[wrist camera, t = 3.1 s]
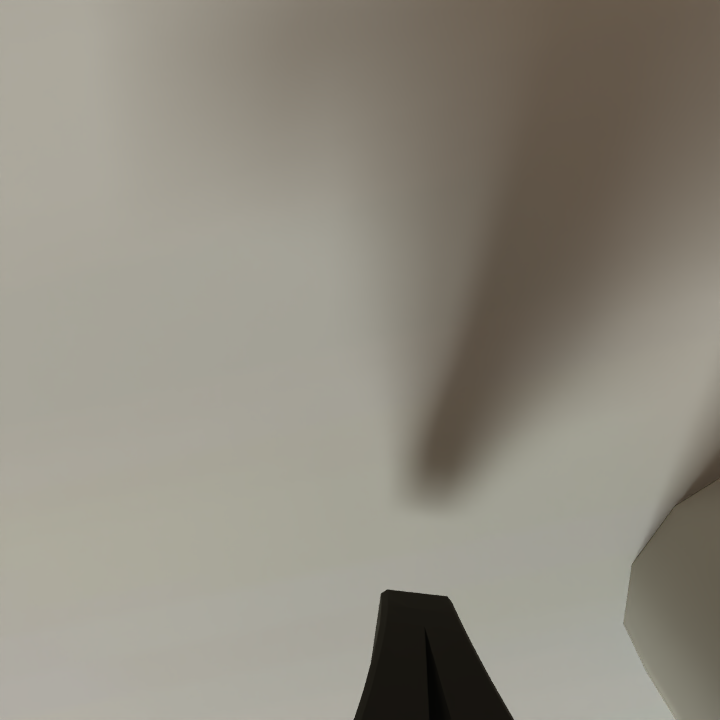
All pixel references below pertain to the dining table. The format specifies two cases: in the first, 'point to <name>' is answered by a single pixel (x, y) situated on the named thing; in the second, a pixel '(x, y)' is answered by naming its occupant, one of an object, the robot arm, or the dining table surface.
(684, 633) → the grey cylinder
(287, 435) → the dining table surface
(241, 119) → the dining table surface
